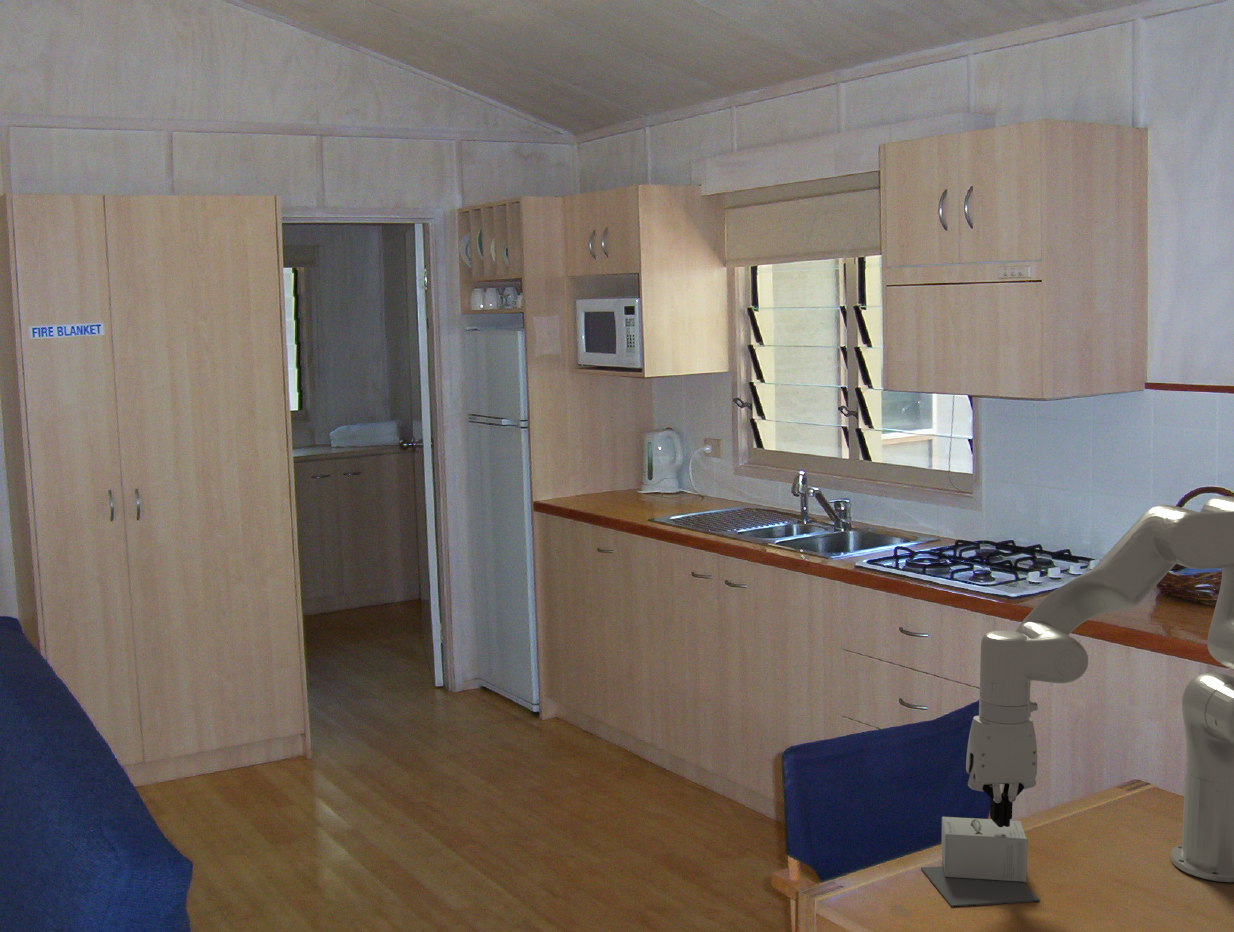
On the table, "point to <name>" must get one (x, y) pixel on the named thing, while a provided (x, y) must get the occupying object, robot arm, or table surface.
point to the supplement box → (984, 849)
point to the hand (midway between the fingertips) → (1000, 823)
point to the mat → (978, 889)
